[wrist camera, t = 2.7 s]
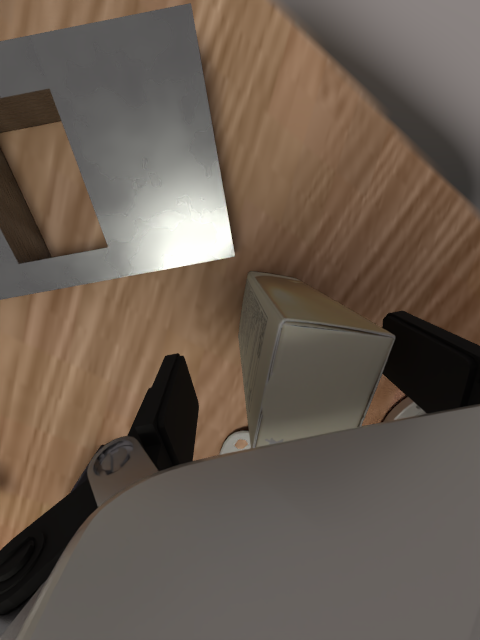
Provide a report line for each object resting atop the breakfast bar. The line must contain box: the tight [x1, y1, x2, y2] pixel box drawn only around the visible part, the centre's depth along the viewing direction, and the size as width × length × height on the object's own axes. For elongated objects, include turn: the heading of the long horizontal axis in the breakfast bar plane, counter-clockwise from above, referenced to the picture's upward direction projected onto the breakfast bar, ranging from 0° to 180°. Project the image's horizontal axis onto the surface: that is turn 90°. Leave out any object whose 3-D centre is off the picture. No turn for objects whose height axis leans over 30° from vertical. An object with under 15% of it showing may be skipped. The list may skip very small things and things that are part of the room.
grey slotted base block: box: [0, 3, 235, 300], centre depth 15 cm, size 20×12×3 cm, turn 100°
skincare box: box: [238, 271, 395, 448], centre depth 14 cm, size 6×4×12 cm
